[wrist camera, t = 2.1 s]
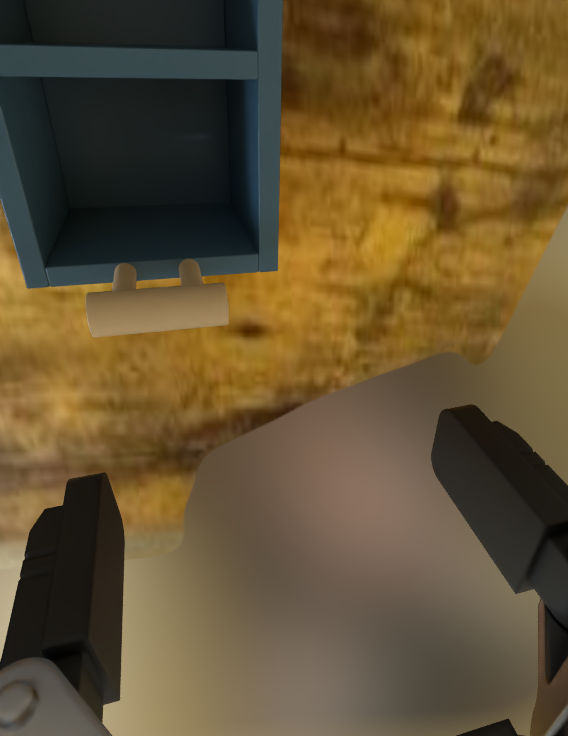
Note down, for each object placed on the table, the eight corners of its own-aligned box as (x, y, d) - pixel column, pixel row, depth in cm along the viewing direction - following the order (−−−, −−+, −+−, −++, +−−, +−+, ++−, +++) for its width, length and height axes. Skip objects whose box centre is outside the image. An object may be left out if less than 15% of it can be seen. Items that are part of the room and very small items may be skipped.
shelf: (245, 220, 33) (303, 325, 21) (59, 229, 31) (3, 354, 19) (237, -169, 23) (343, -401, 11) (-45, -203, 20) (-322, -555, 8)
